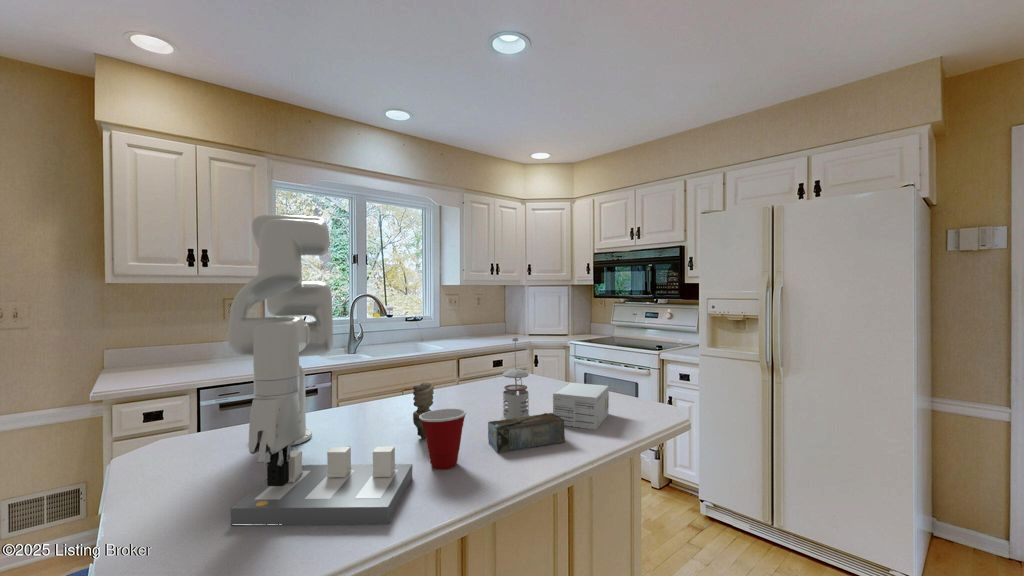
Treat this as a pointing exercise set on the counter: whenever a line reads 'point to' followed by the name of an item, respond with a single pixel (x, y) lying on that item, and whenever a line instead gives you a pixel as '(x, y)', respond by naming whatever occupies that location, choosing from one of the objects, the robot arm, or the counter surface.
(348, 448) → the block
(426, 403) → the light bulb
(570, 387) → the supplement box
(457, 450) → the plastic cup
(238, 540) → the counter surface
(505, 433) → the beverage carton
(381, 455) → the block
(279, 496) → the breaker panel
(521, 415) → the french press
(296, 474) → the breaker left
